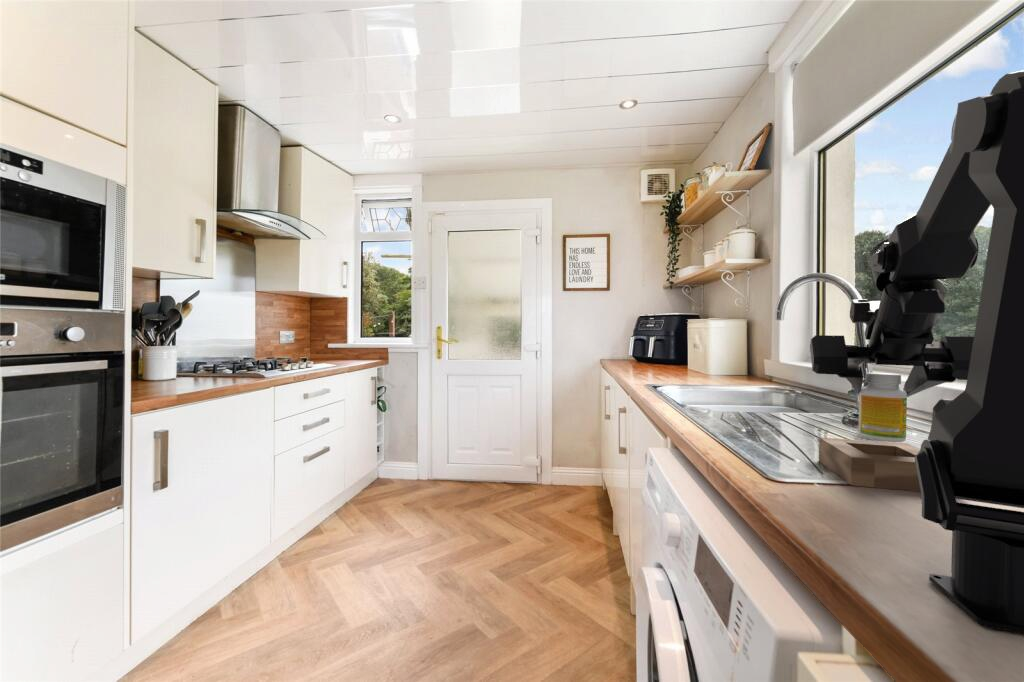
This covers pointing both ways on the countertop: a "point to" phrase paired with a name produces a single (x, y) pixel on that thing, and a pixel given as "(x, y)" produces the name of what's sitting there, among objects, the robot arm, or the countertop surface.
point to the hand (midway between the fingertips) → (880, 393)
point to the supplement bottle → (883, 408)
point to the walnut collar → (871, 463)
